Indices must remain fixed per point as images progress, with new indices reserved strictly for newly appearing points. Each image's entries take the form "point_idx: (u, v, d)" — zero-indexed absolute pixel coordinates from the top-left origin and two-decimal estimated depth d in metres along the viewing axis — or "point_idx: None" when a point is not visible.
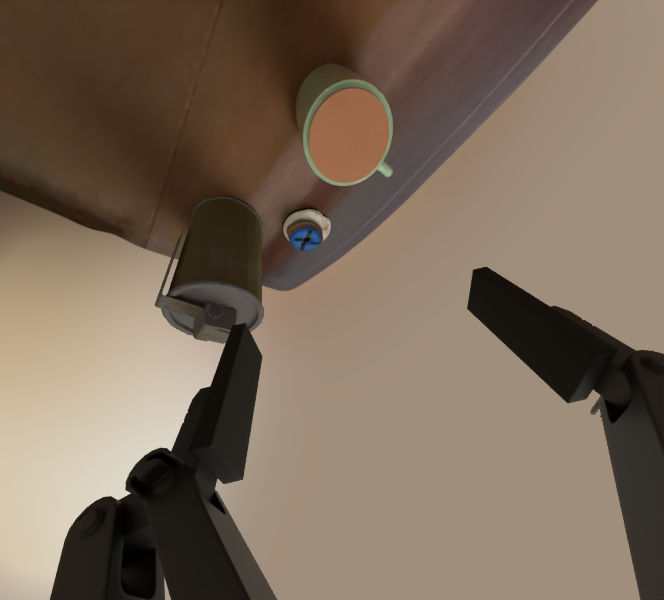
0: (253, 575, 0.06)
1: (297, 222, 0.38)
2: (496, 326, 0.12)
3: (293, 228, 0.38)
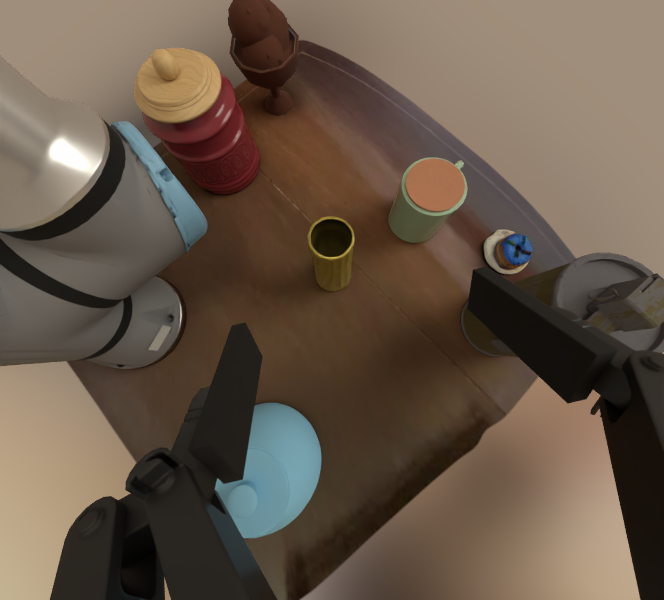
0: (253, 575, 0.06)
1: (495, 256, 0.39)
2: (496, 326, 0.12)
3: (502, 258, 0.38)
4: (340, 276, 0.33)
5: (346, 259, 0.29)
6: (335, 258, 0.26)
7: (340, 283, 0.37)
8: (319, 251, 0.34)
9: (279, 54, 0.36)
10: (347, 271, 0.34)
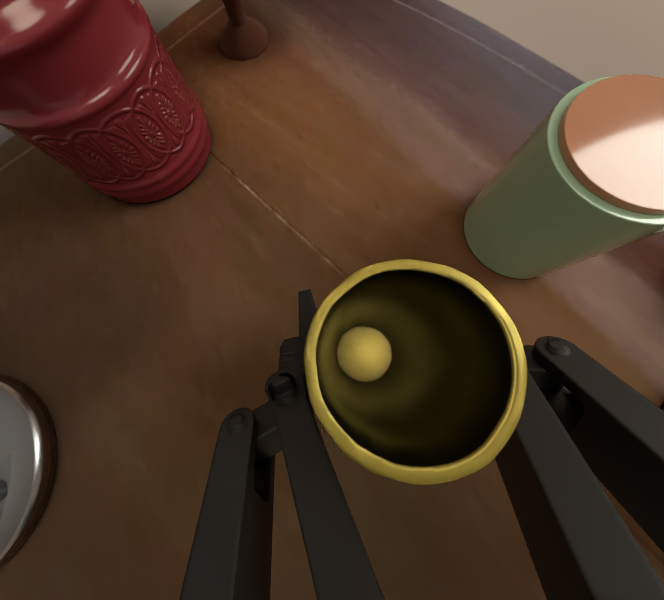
0: (345, 499, 0.07)
1: None
2: None
3: None
4: None
5: None
6: (449, 477, 0.05)
7: None
8: (338, 331, 0.13)
9: None
10: None
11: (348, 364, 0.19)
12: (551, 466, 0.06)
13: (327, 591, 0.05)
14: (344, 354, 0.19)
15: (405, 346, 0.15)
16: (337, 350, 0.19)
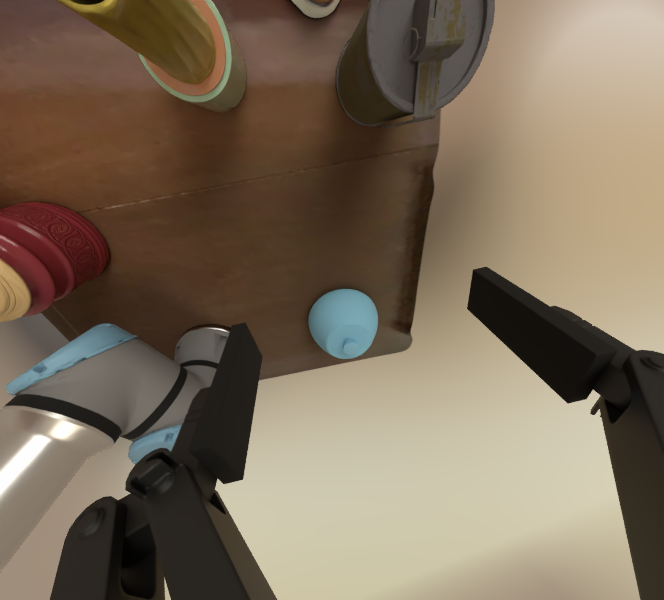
0: (253, 575, 0.06)
1: None
2: (496, 326, 0.12)
3: None
4: (183, 17, 0.18)
5: None
6: None
7: (201, 36, 0.21)
8: None
9: None
10: None
11: None
12: None
13: None
14: None
15: None
16: None
